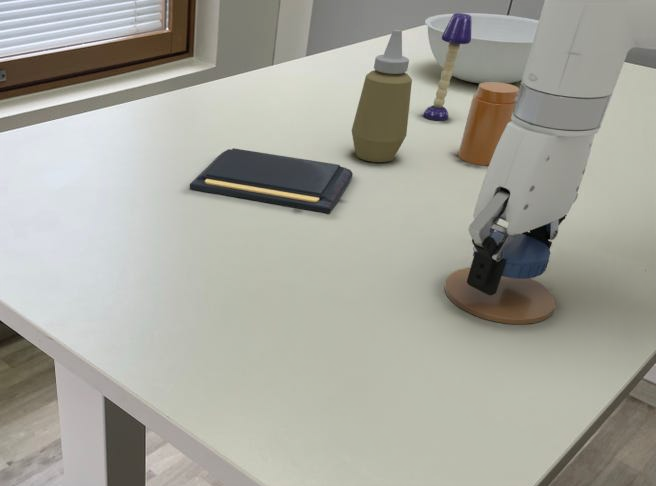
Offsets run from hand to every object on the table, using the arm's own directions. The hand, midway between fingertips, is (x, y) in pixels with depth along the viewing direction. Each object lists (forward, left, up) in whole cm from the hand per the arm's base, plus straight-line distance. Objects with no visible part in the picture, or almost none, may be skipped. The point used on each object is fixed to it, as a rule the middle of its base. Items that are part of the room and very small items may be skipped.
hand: (503, 278), depth 76 cm
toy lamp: (+41, -48, -2) cm, 63 cm away
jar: (+25, -36, -2) cm, 44 cm away
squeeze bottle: (+35, -23, -2) cm, 42 cm away
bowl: (+51, -78, -2) cm, 93 cm away
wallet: (+37, -3, -2) cm, 37 cm away
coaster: (0, 0, -2) cm, 2 cm away
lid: (0, 0, +3) cm, 3 cm away
